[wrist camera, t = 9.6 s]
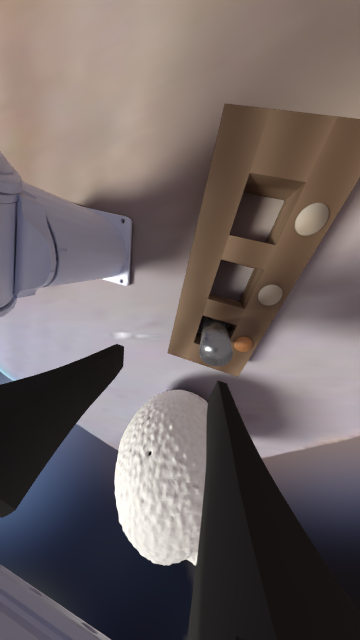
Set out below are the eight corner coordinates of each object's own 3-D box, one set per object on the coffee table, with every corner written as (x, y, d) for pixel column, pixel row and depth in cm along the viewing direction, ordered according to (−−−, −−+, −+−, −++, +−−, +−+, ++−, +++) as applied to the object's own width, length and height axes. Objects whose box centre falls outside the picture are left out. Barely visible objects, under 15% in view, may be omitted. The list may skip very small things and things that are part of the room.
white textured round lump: (163, 347, 22) (74, 502, 8) (261, 392, 21) (359, 654, 7) (139, 408, 31) (78, 531, 17) (207, 441, 30) (203, 599, 16)
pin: (201, 329, 19) (196, 361, 13) (206, 310, 18) (202, 336, 12) (222, 334, 19) (227, 369, 12) (228, 315, 17) (237, 344, 11)
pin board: (173, 341, 21) (167, 354, 18) (221, 140, 11) (225, 100, 9) (234, 361, 20) (238, 378, 17) (346, 159, 10) (397, 119, 7)
